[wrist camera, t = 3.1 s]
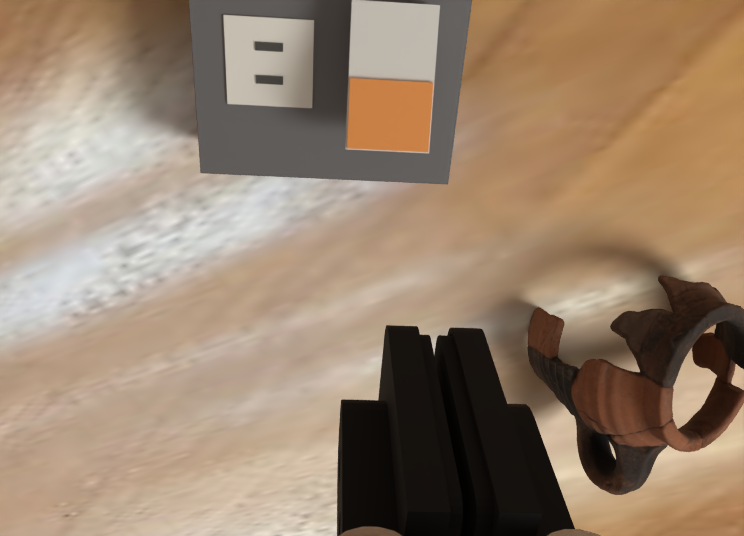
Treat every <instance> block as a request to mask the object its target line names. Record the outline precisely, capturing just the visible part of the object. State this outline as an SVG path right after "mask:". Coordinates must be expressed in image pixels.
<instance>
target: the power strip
mask: <svg viewBox="0 0 744 536" xmlns="http://www.w3.org/2000/svg"><path fill="white" fill-rule="evenodd" d="M366 1H382V2H398V3H413V4H429V5H440V13H439V26H438V40H437V53H436V67H435V80H434V94H433V107H432V121H431V134H430V148H429V153H409V152H389V151H368V150H348V149H346V148H345V141H346V117H347V93H348V69H349V45H350V21H351V2H352V0H189V10H190V24H191V39H192V54H193V68H194V83H195V98H196V112H197V127H198V142H199V156H200V171H201V173H210V174H232V175H254V176H276V177H298V178H320V179H342V180H364V181H386V182H408V183H430V184H448V180H449V172H450V165H451V157H452V149H453V142H454V134H455V126H456V119H457V111H458V103H459V96H460V88H461V80H462V73H463V65H464V58H465V50H466V42H467V35H468V27H469V19H470V12H471V4H472V0H366Z"/></svg>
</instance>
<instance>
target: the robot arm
mask: <svg viewBox="0 0 744 536" xmlns="http://www.w3.org/2000/svg"><path fill="white" fill-rule="evenodd" d="M337 536H600V535H598V534H595V533H592V532H588V531H584V530H581V529H575V528H574V525H573V522H572V520H571V517H570V514H569V512H568V509H567V506H566V503H565V501H564V498H563V495H562V492H561V490H560V487H559V484H558V481H557V479H556V476H555V473H554V471H553V468H552V465H551V462H550V460H549V457H548V454H547V451H546V449H545V446H544V443H543V440H542V438H541V435H540V432H539V430H538V427H537V424H536V421H535V419H534V416H533V413H532V411H531V409H530V407H528V406H527V405H526V404H507V402H506V399H505V396H504V393H503V390H502V387H501V384H500V380H499V377H498V374H497V371H496V368H495V365H494V362H493V359H492V356H491V353H490V350H489V346H488V343H487V340H486V337H485V334H484V332H483V330H482V329H477V328H450V329H449V332H448V336H441V335H439V336H438V337H437V341H436V348H435V355H434V353H433V348H432V343H431V338H430V336H429V335H420V334H419V329H418V327H417V326H389V325H387V326H386V329H385V337H384V347H383V358H382V368H381V379H380V389H379V400H378V401H375V400H341V409H340V425H339V445H338V482H337Z"/></svg>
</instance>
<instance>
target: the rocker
mask: <svg viewBox="0 0 744 536" xmlns="http://www.w3.org/2000/svg"><path fill="white" fill-rule="evenodd" d="M439 13H440V5H429V4H413V3H398V2H382V1H366V0H352V2H351V21H350V45H349V69H348V93H347V117H346V141H345V148H346V149H348V150H368V151H389V152H409V153H429V148H430V134H431V121H432V107H433V94H434V80H435V67H436V53H437V40H438V26H439Z"/></svg>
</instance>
